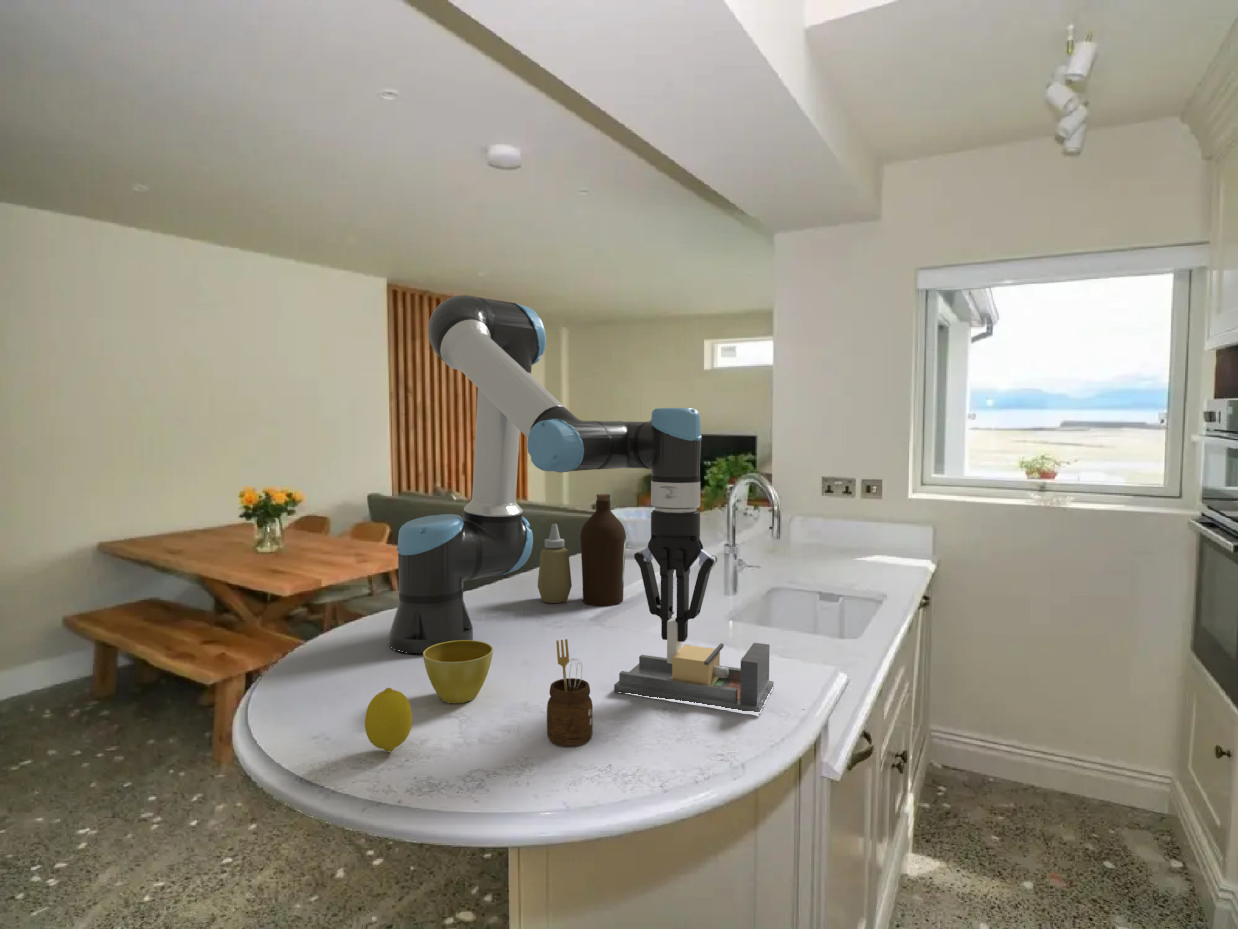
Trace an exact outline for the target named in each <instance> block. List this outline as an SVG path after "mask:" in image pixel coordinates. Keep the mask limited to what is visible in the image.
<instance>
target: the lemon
mask: <svg viewBox="0 0 1238 929" xmlns="http://www.w3.org/2000/svg"><path fill="white" fill-rule="evenodd" d="M364 718H365V720H364V728H365V734H366V736H367V738H368V741H369V742H370V743H371V744H372V745H373V746H374V747H376V748H378V749H382V750H384V751H385V752H386V751H391V752H393V751H394V749H395V748H398V747H399V746H401V745H402V744H403V743H404V742H405V741H406V740H407V739H408V737H409V736H410V732H411V730H412V725H413V711H412V707H411V704H410V701H409V698H408V697H407V696H406V695H405V694H404V693H402V692H401V691H399V690H396V689H393V688H392V687H386V688H384V690H383V691H380V692H378V693H377V694H376V695H375V696H374V697H372V699H371V700H370V702H369V703H368V706H367V709H366V712H365V717H364Z"/></svg>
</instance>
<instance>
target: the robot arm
mask: <svg viewBox="0 0 1238 929" xmlns="http://www.w3.org/2000/svg"><path fill="white" fill-rule="evenodd" d="M428 322H429V323H428V325H427V326H428V330H427V333H428V339H429V343H430V345H431V347H432V349H433V351H434V352H435V354H437V356H438V357H439V358H440V360H442V361H443V363H444V364H445V365H446V366H448V367H449V368H451V369H454V370H458V371H461V373H462V374H464V375H465V377H466V378H468V380H470V382H471V383H473V385H474V386H475V387H476V388H477V401H476V403H477V404H476V421H475V440H474V457H473V473H472V474H473V476H472V477H473V478H472V495H471V500H470V502H468V503H467V504H466V505H465V506H464V507H463V517H462V516H461V515H459V514H455V513H454V514H453V513H445V514H444V513H443V514H437V515H435V514H433V515H427V516H421V517H417V518H414V519H412V520H409V521H407V522H404V524H403V525H401V527H400V529H399V531H398V536H397V537H398V539H397V547H396V550H397V560H398V562H397V563H398V564H397V565H398V568H397V570H398V572H397V573H398V575H397V576H398V605H397V608H396V612H395V615H394V618H393V621H392V624H391V627H390V630H389V634H388V635H389V637H388V638H389V644H390V645H389V647H390V646H391V647H392V648H394V649H395V650H400V651H403V652H407V653H406V654H408V653H416V654H415V655H423V652H424V651H425V650H426V649H427V648H429V647H431V646H433V645H435V644H439V643H443V642H449V641H457V640H474V628H473V624H472V621H471V618H470V615H469V613H468V609H467V607H466V604H465V601H464V582H465V581H471V580H477V579H483V578H487V577H493V576H504V575H507V574H508V573H512V572H515V571H518V570H519V569H521V567H523V566H524V565H526V563H527V561H528V560H529V558H530V556H531V554H532V550H533V545H534V535H533V530H532V529H530V527H531V525H530V522H529V521H528V519H527V518H525V516H523V509H522V508H521V506H519V504H518V503H517V501H516V500H517V487H518V485H517V482H518V468H519V467H518V466H519V465H518V464H519V454H520V452H519V448H520V435H521V434H520V433H522V434H523V435H524V437H526V438H527V440H526V443H527V444H526V448H527V453H528V455H530V461H531V463H532V464H533V465H534V467H535V468H537V469H538V470H541V471H544V472H556V473H568V472H578V471H579V472H580V471H589V470H590V471H593V470H613V469H646V470H650V476H651V477H650V485H651V486H650V488H651V489H650V493H651V494H650V505H651V506H652V507H653V508H654V509H653V510H652V511H651V512H650V540H649V541H648V544H647V547H645V548H644V549H642V550H639V551H637V552H635V553H634V556H633V558H634V560H635V561H636V564H637V565H638V567H639V570H640V573H641V579H642V583H643V588H644V592H645V597H646V600H647V607H648V610H649V613H650V614H651V615H652V616H654V615H655V616H657V617H659V618H660V620H661V622H660V623H661V624H660V625H661V626H660V628H661V629H660V630H661V633H660V634H661V638H662V640H664V641H666V658H667V663H670V664H672V657H673V656H674V655H675V654H676V653H677V652H678V651H679V650H680V649H681V648H682V647H683V645H682V644H683V643H684V642H686V641H687V639H688V635H689V632H688V630H689V629H688V628H689V620H693V619H695V618H696V617H697V616H699V615H700V613H701V610H702V607H703V602H704V598H705V594H706V590H707V586H708V582H709V578H710V574H711V571H712V570H713V569H714V566H715V565H716V563H717V562H718V557H717V556H715V555H711V554H709V552H707V551H706V550H704V545H703V543H702V541H701V513H700V512H699V510H697V509H698V508H700V507H701V455H702V454H701V453H702V452H701V451H702V449H701V448H702V439H703V438H702V437H703V436H702V431H701V429H702V428H701V416H700V415H701V414H700V412H699V410H697V409H695V408H692V407H691V408H690V407H689V408H688V407H661V408H659V407H658V408H654V409H653V410H652V412H651V418H650V420H649V421H623V420H622V421H621V420H616V421H615V420H611V421H610V420H609V421H608V420H605V421H603V420H583V419H580V418H578V417H576V416H575V414H573V413H572V412H571V411H570V410H569V409H568V408H566V407H565V406H564V405H563V404H562V403H561V402H560V401H559V400H558V399H557V398H556V397H555V396H553V395H552V393H550V392H549V391H548V390H547V389H546V388H545V387H544V386H543V385H542V384H540V382H538V381H537V380H536V379H535V377H533V376H532V366H534V365H536V364H537V363H538V362H539V361H540V360H541V359H542V357H541V356H543V354H544V352H545V351H546V345H547V344H546V343H547V336H546V329H545V326H544V323H543V320H542V319H541V318H540V317H539V316H538V313H537V312H536V311H535V310H533V309H532V308H531V307H529V306H526V305H522V304H519V303H516V302H512V301H510V302H509V301H505V300H504V301H503V300H497V299H492V298H483V297H478V296H475V295H468V294H467V295H466V294H462V295H454V296H451V297H449V298H447V299H445V300H443V301H442V302H440V304H438V305H437V306H436V307H435V309H434V310H433V311H432V313H431V316H430V318H429V321H428ZM653 558H654V560H655V561H656V563H657V564H658V565H659V575H660V590H659V588H658V583H657V579H656V578H657V577H656V574H655V569H654V565H653V562H652V560H653ZM697 559H699V561H698V566H700V568H699V570H698V573H697V576H696V581H695V584H694V589H693V593H692V597H691V600H690V573H691V567H692V566H693V565H694V563H695V561H696V560H697ZM674 573H675V577H676V616H673V615H674V614H675V611H674ZM659 591H660V592H659ZM391 647H390V648H391ZM392 648H391V649H392ZM395 650H394V651H395ZM417 653H419V654H417ZM421 653H422V654H421Z"/></svg>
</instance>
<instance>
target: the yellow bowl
mask: <svg viewBox="0 0 1238 929" xmlns="http://www.w3.org/2000/svg"><path fill="white" fill-rule="evenodd" d="M493 650H494V647H493V646H492V645H491V644H490V643H488V642H485V641H480V640H474V639H473V640H457V641H449V642H443V643H439V644H435V645H433V646H431V647H429V648H427V649H426V650H425V651H424V652H423V654H422V657H423V663H424V667H425V670H426V673H427V677H428V680H429V681H430V683H431V685H432V688H433V690H434V691H435V693H436V694H437V697H439V699H440V700H441V699H442V700H443V701H445V702H449V703H462V704H464V703H463V702H467V701H470V700H472V699H473V700H475V699H476V698H477V696H478V694H479V693H480V691H481V689H482V688H483V685H484V684H485V682H486V679H487V677H488V674H489V670H490V667H491V664H492V659H493V652H494V651H493ZM442 700H441V701H442ZM473 700H472V701H473ZM443 701H442V702H443ZM445 702H444V703H445ZM470 702H471V701H470ZM449 703H448V704H449ZM467 703H468V702H467Z"/></svg>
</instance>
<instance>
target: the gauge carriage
mask: <svg viewBox="0 0 1238 929" xmlns="http://www.w3.org/2000/svg"><path fill="white" fill-rule="evenodd" d="M723 648H724V643H722V642H720V643H719V644H718V645H717V646H716V647H715V648H712V647H705V646H699V645H698V646H697V645H690V644H684V645H682V648H681V649H680V650H679V651H678V652H677V653H676V654H675V655H674V656H673V657H672V679H678V680H685V681H691V682H698V683H704V684H711V685H714V684H715V682H716V681H717V680H718V678H719V677H720V678H728V672H729V670H728V667H729V666H727V667H721V666H722V665H720V662H721V661H720V660H721V658H720V657H721V656H720V655H721V653H720V652H721V651H722V649H723Z"/></svg>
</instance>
